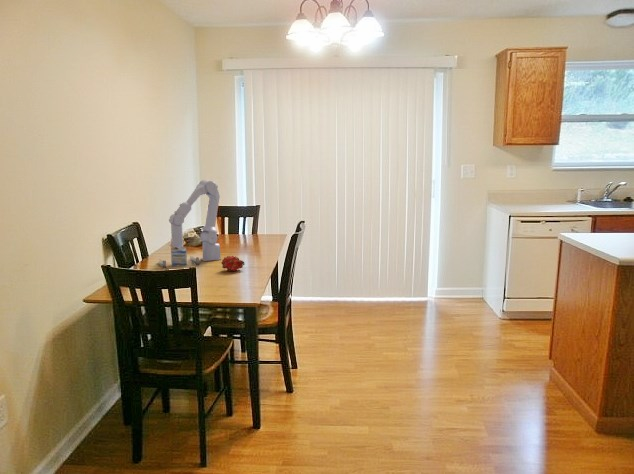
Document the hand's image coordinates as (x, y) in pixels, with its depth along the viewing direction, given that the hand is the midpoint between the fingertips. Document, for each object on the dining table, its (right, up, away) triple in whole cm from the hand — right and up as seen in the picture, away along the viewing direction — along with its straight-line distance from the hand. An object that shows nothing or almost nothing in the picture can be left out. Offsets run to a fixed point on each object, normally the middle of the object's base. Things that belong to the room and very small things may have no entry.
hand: (178, 261), depth 270 cm
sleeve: (0, -2, 0) cm, 2 cm away
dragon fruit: (+32, -4, -14) cm, 35 cm away
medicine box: (+1, -1, -2) cm, 3 cm away
